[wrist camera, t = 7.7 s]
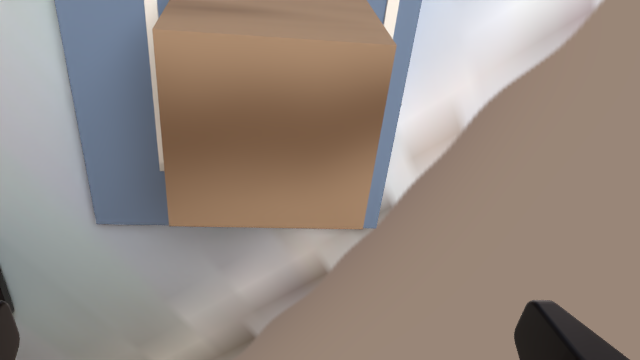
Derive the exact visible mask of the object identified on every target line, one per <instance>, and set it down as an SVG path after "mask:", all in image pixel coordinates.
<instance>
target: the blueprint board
mask: <svg viewBox="0 0 640 360" xmlns="http://www.w3.org/2000/svg"><path fill="white" fill-rule="evenodd" d="M54 1H55V6H56V11H57V17H58V22H59V27H60V33H61V38H62V43H63V48H64V54H65V59H66V64H67V70H68V75H69V80H70V86H71V91H72V96H73V102H74V107H75V112H76V117H77V123H78V128H79V133H80V139H81V144H82V149H83V155H84V160H85V165H86V171H87V176H88V181H89V186H90V192H91V197H92V202H93V208H94V213H95V218H96V224H125V225H169V218H168V207H167V195H166V183H165V172H164V160H163V148H162V137H161V125H160V114H159V102H158V90H157V79H156V67H155V55H154V44H153V32H152V29H153V27H154V25H155V24H156V22H157V20H158V19H159V17H160V15H161V14H162V12H163V10H164V9H165V7H166V5H167V4H168V2H169V0H54ZM367 1H368V3H369V4H370V6H371V7H372V9H373V10H374V12H375V13H376V15H377V16H378V18H379V19H380V21H381V22H382V24H383V25H384V27H385V28H386V30H387V31H388V33H389V34H390V36H391V37H392V39H393V40H394V42H395V43H396V45H397V47H396V52H395V57H394V63H393V68H392V74H391V79H390V85H389V90H388V95H387V101H386V106H385V112H384V117H383V123H382V128H381V133H380V139H379V144H378V150H377V155H376V160H375V166H374V171H373V177H372V182H371V188H370V193H369V198H368V204H367V209H366V215H365V220H364V226H363V228H376V226H377V221H378V216H379V211H380V206H381V201H382V196H383V191H384V186H385V181H386V177H387V172H388V167H389V162H390V157H391V152H392V147H393V142H394V137H395V132H396V127H397V122H398V117H399V112H400V107H401V102H402V97H403V92H404V87H405V82H406V77H407V72H408V67H409V62H410V57H411V52H412V47H413V42H414V37H415V32H416V27H417V22H418V17H419V12H420V7H421V2H422V0H367Z"/></svg>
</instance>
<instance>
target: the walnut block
mask: <svg viewBox="0 0 640 360" xmlns="http://www.w3.org/2000/svg"><path fill="white" fill-rule="evenodd" d="M152 32H153V44H154V55H155V67H156V79H157V90H158V102H159V114H160V125H161V137H162V148H163V160H164V172H165V183H166V195H167V207H168V218H169V226H194V227H256V228H318V229H363V226H364V220H365V215H366V209H367V204H368V198H369V193H370V188H371V182H372V177H373V171H374V166H375V160H376V155H377V150H378V144H379V139H380V133H381V128H382V123H383V117H384V112H385V106H386V101H387V95H388V90H389V85H390V79H391V74H392V68H393V63H394V57H395V52H396V47H397V45H396V43H395V42H394V40H393V39H392V37H391V36H390V34H389V33H388V31H387V30H386V28H385V27H384V25H383V24H382V22H381V21H380V19H379V18H378V16H377V15H376V13H375V12H374V10H373V9H372V7H371V6H370V4H369V3H368V1H367V0H169V2H168V4H167V5H166V7H165V9H164V10H163V12H162V14H161V15H160V17H159V19H158V20H157V22H156V24H155V25H154V27H153V29H152Z"/></svg>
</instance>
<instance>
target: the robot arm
mask: <svg viewBox="0 0 640 360" xmlns="http://www.w3.org/2000/svg"><path fill="white" fill-rule="evenodd" d="M13 312H14V308H13V305H12V302H11V299H10V296H9V294H8V291H7V288H6V285H5V282H4V279H3V276H2V273H1V270H0V360H15V358H16V355H17V351H18V348H19V340H20V338H19V332H18V329H17V326H16V323H15V320H14V317H13V315H12V314H13ZM514 339H515V344H516V348H517V351H518V355H519V358H520V360H629V359H628V358H627V357H626V356H624V355H623V354H622V353H620V352H619V351H618V350H616V349H615V348H614V347H612V346H611V345H610V344H609V343H607V342H606V341H605V340H603V339H602V338H601V337H599V336H598V335H597V334H595V333H594V332H593V331H592V330H590V329H589V328H588V327H586V326H585V325H584V324H582V323H581V322H580V321H578V320H577V319H576V318H575V317H573V316H572V315H571V314H569V313H568V312H567V311H565V310H564V309H563V308H562V307H560V306H559V305H558V304H556V303H554V302H553V301H550V300H532V301H530V302H529V303H527V305H526V306H525V309H524V311H523V313H522V315H521V317H520V319H519V321H518V324H517V326H516V328H515V333H514Z"/></svg>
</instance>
